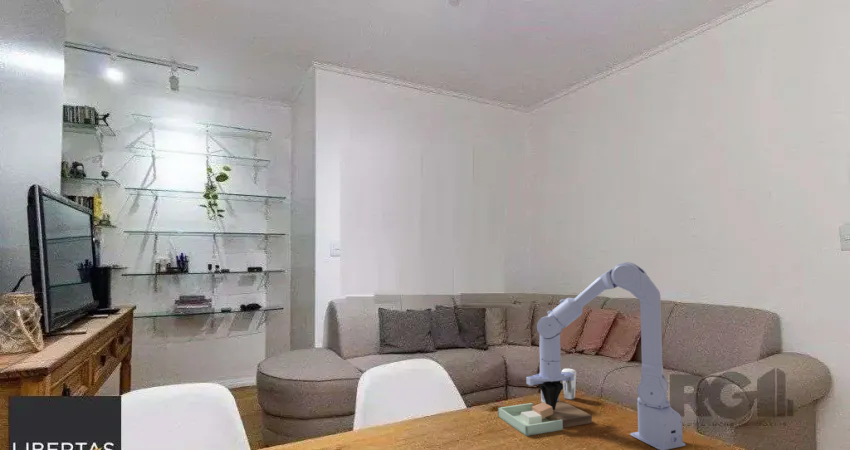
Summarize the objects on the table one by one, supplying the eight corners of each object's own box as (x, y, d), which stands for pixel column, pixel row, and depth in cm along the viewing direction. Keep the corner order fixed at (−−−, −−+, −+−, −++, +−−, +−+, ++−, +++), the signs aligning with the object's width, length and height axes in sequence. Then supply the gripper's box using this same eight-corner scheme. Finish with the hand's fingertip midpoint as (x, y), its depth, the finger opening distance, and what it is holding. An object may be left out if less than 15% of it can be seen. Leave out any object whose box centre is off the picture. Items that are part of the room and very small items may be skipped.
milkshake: (579, 396, 141) (578, 364, 141) (575, 401, 136) (574, 368, 137) (564, 393, 143) (564, 362, 144) (560, 398, 138) (559, 366, 139)
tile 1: (541, 423, 118) (541, 415, 118) (529, 425, 116) (528, 417, 116) (533, 417, 121) (533, 410, 121) (520, 419, 120) (520, 412, 120)
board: (591, 422, 119) (591, 415, 119) (561, 428, 115) (561, 420, 116) (563, 408, 130) (563, 401, 130) (534, 412, 127) (534, 405, 127)
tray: (562, 429, 114) (562, 420, 114) (526, 436, 110) (526, 426, 110) (531, 411, 127) (531, 402, 128) (497, 416, 123) (497, 407, 124)
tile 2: (553, 414, 119) (552, 406, 119) (541, 418, 118) (540, 411, 118) (544, 409, 123) (543, 402, 123) (532, 413, 122) (531, 406, 122)
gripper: (562, 353, 129) (563, 401, 128) (519, 358, 124) (520, 407, 123) (578, 359, 122) (579, 409, 121) (534, 364, 117) (535, 416, 116)
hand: (550, 408), depth 122 cm, fingers closed
